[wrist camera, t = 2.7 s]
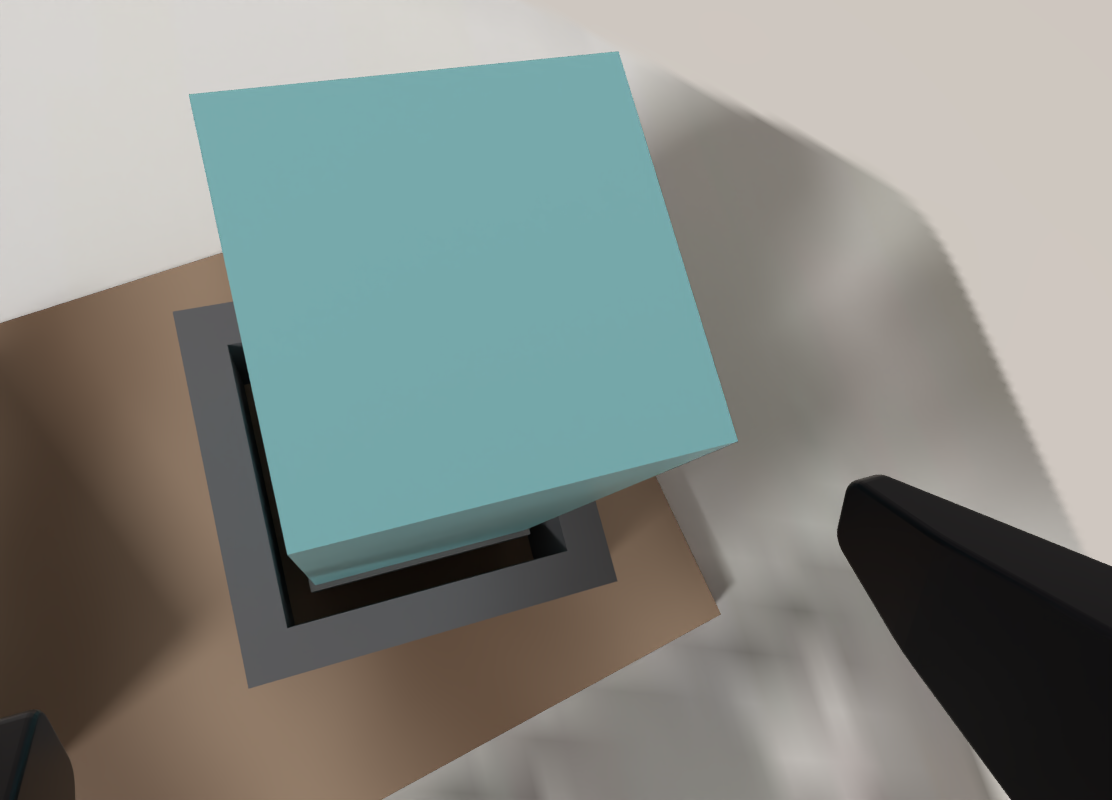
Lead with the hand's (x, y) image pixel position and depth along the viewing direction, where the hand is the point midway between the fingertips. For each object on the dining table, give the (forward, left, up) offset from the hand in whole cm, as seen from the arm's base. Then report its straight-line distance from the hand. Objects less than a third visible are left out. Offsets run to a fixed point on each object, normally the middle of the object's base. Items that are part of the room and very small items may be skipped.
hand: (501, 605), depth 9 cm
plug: (+2, +2, -9) cm, 10 cm away
